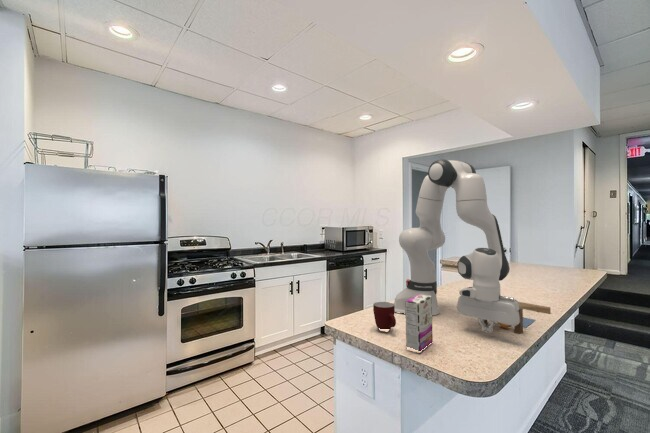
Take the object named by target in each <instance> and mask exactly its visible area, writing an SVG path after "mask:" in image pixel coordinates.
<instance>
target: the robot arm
mask: <svg viewBox="0 0 650 433" xmlns="http://www.w3.org/2000/svg"><path fill="white" fill-rule="evenodd" d="M428 167H429V168H428V171H427V175H425V177H424V178H423V181H422V183H421V186H420V190H419V193H418V197H417V201H416V202H417V203H416V205H415V206H416V207H415V215H416V216H417V218H418V219H419V220H418V221H419V227H411V228H407V229H404V230H402V231H401V233H399V236H398V242H399V246H400V247H401V249H403V250H404V252H405V253H406V255H407V258H408V262H409V267H410V279H409V278H407V279H406V280H405V283H406V286H405V288H404V289H403V290H402V291H400V292H399V293H397V294H396V296H395V298H394V302H392V303H393V304H394V306H395V312H400V313H405V301H406V300H408V299H410V298H412V297H414V296H416V295H418V294H422V295H428V296H431V302H432V316H437V315H439V314H440V313H441V311H440V308H439V304H438V298H437V294H438V283H437V280H436V278H437V276H436V274H437V273H436V264H435V262H434V261H433V260H431V257H430V255H429V251H434V250H437V249H439V248H441V247H443V246H444V245H445V243H446V235H445V233H444V232H443V230H442V225H441V216H442V211H443V206H444V203H445V202H444V199H445V195H446V193H447V191H448V189H450V188H452V189H453V190H454V192H455V207H456V208H455V209H456V214H457V216H458V217H459V219H460V220H461V221H463V222H465V223H466V224H468V225H471V226H473V227H477V228H478V229H480V230H482V231H483V233H484V234H485V235H484V236H485V239H486V242H487V247H477V248H475V249H474V250H473V252H471V253H470V254H465V255H462V256H461V257H460V258H458V261H457V271H458V274H459V276H461V278H463V279H465V280H472V286H469V287H464V288H462V289H460V290H458V291H459V295H460V296H459V297H458V298H457V306H456V308H457V312H458V313H459V314H461V315H463V316H468V317H472V318H477V319H478V323H480V324H481V325H480V324H479V325H480V326H481V331H482V332H485V333H488V334H489V333H490V334H492V333H493V327H494V326H495V325H496V324H497V322H498V323H502V324H506V325H511V327H514V326H516V325H518V324H519V323H520V318H519V302H520V301H518V300H517V299H515V297H509V296H504V295H501V284H500V281H503V280H504V279H505V278H506V277H507V276H508V275H509V273H510V263H509V261H508V258H507V256H506V253H505V248H504V242H503V239H502V238H503V237H502V234H501V231H500V230H501V229H500V225H499V223H498V220H497V216H495V214H493V213H492V212H491V211H490V208H489V206H488V199H487V198H488V197H487V196H488V195H487V189H486V184H485V181H484V178H483V176H482V175H481V174H478V173H477V172H476V168H475V167H474V166H473V165H472V164H470V163H468V162H466V161H465V162H464V161H460V160H457V159H453V160H451V159H443V158H442V159H437V160H434V161H433V162H431V164H430V165H429V166H428ZM400 313H399V314H400ZM484 320H488V324H490V325H485V323H484Z"/></svg>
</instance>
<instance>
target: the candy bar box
mask: <svg viewBox="0 0 650 433" xmlns="http://www.w3.org/2000/svg"><path fill="white" fill-rule="evenodd" d="M404 315H405V341H406V343H405V344H406V346H407V347H410V348H413V349H415V350H418V351H421V350H422V349H424V348H425V347H426V346H428V345H429V344H430V343H432V342H433V343H434V341H433V315H432V302H431V296H428V295H422V294H418V295H416V296H414V297H412V298H410V299H408V300H406V301H405V314H404ZM433 343H432V344H433Z"/></svg>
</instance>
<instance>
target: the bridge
mask: <svg viewBox="0 0 650 433" xmlns="http://www.w3.org/2000/svg"><path fill="white" fill-rule="evenodd" d="M523 310H524V309H523V308H521V307H519V318H520V323H519V324H518V325H516V326H513V327H514V328H513V332H514V334H517V335H521V334H523V333H524V327H523V317H524V313H523V312H524V311H523ZM478 323H479V322H478ZM484 323H485V325H486V326H488V324H489V320H484ZM479 325H480V326H481V324H480V323H479Z"/></svg>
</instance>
